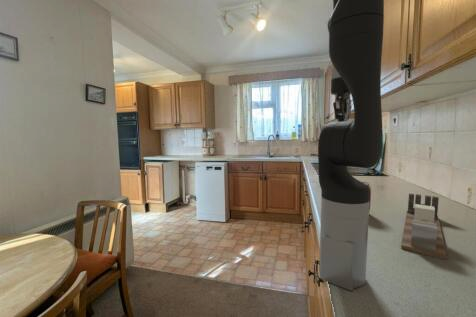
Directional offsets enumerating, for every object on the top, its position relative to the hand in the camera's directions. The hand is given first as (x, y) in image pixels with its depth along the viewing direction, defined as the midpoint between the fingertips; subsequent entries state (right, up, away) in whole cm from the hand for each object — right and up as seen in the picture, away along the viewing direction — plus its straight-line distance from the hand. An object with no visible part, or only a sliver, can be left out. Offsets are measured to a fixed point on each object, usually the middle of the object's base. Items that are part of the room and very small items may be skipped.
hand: (341, 133), depth 74 cm
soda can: (+14, -30, +15) cm, 36 cm away
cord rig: (+25, -31, -2) cm, 40 cm away
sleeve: (+21, -29, -7) cm, 36 cm away
